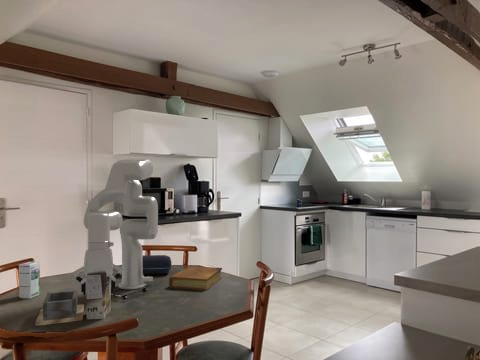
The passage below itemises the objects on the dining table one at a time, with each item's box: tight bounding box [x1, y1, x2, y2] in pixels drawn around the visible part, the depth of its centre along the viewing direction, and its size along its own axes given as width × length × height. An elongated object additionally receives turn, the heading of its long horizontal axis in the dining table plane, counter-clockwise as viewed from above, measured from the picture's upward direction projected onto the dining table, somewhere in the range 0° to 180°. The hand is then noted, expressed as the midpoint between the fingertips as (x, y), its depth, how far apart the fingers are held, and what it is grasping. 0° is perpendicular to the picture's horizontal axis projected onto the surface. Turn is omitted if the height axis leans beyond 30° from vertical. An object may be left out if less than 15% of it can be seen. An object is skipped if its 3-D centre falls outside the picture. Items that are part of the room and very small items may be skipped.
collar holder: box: [34, 289, 85, 327], centre depth 139 cm, size 15×15×7 cm
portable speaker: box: [143, 254, 172, 275], centre depth 203 cm, size 25×10×10 cm, turn 94°
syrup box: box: [18, 261, 41, 299], centre depth 163 cm, size 6×6×14 cm
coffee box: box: [86, 273, 112, 320], centre depth 140 cm, size 9×6×16 cm
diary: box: [168, 265, 223, 291], centre depth 185 cm, size 23×19×6 cm
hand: (98, 292), depth 139 cm, fingers open, 9 cm apart
